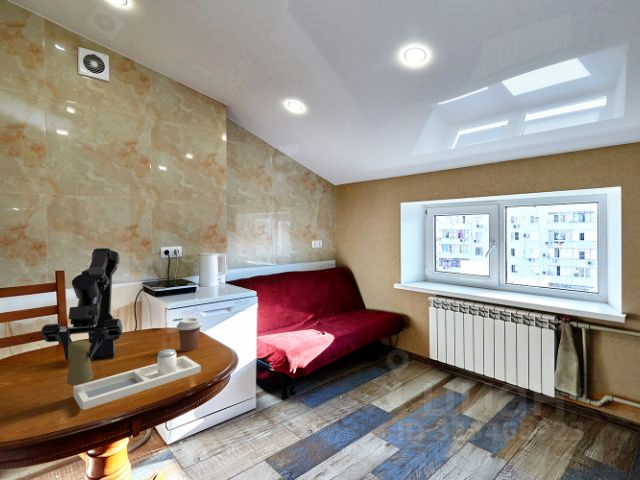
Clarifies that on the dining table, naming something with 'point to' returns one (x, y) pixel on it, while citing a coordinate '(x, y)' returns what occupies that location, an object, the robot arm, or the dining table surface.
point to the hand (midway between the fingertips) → (78, 358)
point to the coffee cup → (189, 334)
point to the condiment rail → (129, 383)
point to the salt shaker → (166, 362)
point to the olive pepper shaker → (79, 363)
